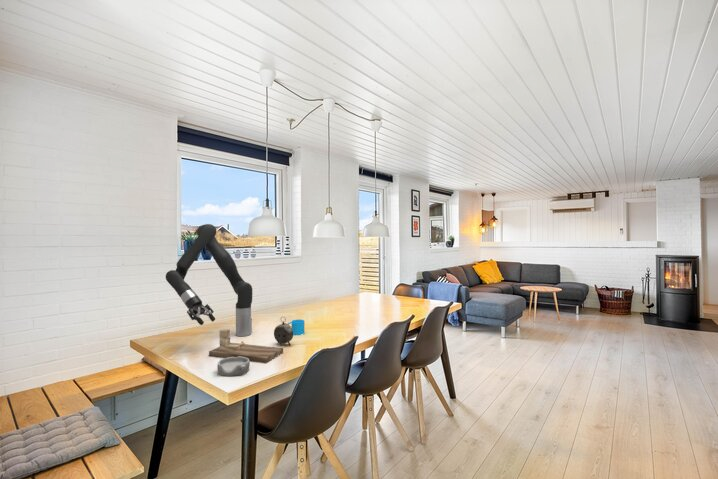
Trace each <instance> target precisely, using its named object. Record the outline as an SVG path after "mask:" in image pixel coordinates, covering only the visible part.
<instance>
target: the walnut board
mask: <svg viewBox="0 0 718 479" xmlns="http://www.w3.org/2000/svg"><path fill="white" fill-rule="evenodd" d="M230 344H231V345H237V344H239V343H237V342H230ZM280 354H281V355H282V354H284V347H277V346H268V345H267V346H266V345H255V344H246V343H245V345H244V346H241V347H240V349H239V350H237V351H230V350H221V349H220V346H218V347H216V348H214V349H211V350H208V357H213V358H220V359H224V358H228V357H238V356H241V357H245V358H248V359H249V362H253V363H261V364H262V363H263V364H267V363H269V362H271V361H273V360H274V359H276V358H277V357H279V356H281V355H280ZM278 355H279V356H278ZM275 357H276V358H275ZM272 359H273V360H272Z"/></svg>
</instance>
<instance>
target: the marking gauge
mask: <svg viewBox="0 0 718 479" xmlns="http://www.w3.org/2000/svg"><path fill="white" fill-rule="evenodd" d="M230 343H231V329H229V328H221V329H220V330H219V347H220V349H221V350H230V351H237V350H239V349H240V347H241V346H244V345H245V344H246V343H245V342H244V341H241V342H240V343H239V344H237V345H231V344H230Z"/></svg>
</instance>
